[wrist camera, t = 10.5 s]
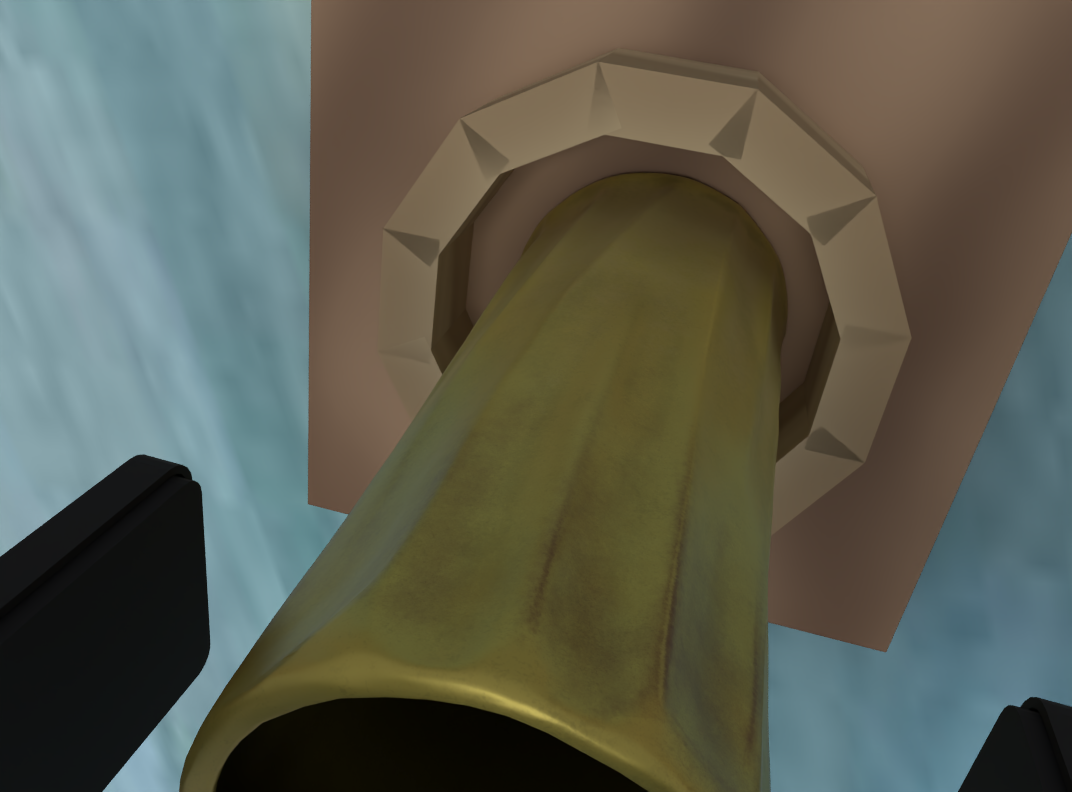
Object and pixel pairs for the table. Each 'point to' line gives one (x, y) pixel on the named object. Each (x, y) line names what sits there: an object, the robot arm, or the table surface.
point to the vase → (551, 538)
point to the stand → (737, 172)
